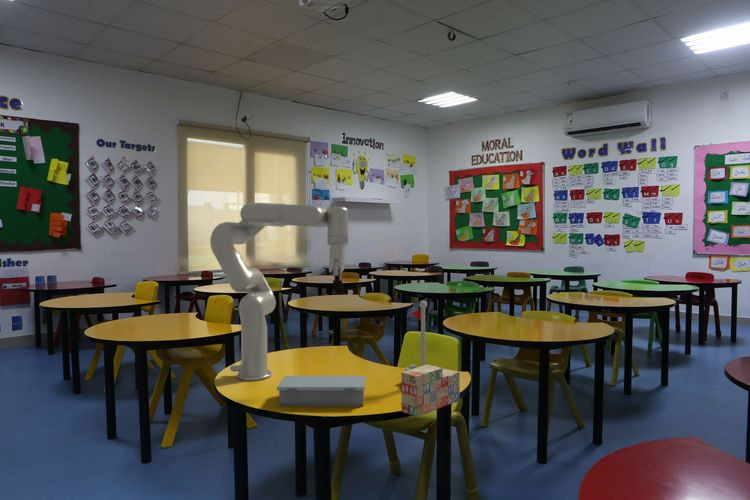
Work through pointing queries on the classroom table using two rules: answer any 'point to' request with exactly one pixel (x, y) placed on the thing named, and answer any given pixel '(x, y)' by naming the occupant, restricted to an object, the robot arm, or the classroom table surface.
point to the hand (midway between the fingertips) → (337, 291)
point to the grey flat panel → (322, 383)
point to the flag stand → (421, 316)
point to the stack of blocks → (428, 389)
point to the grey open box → (321, 398)
